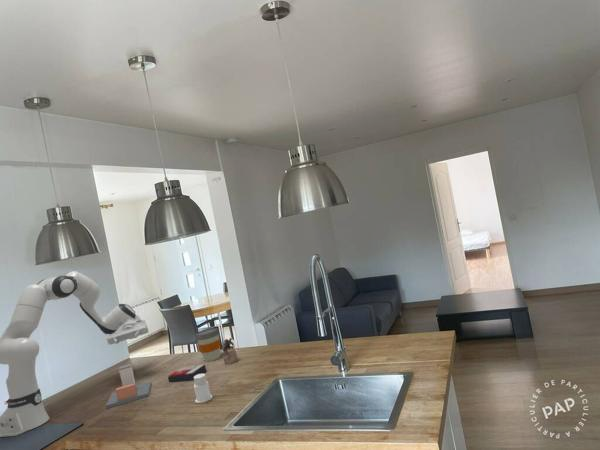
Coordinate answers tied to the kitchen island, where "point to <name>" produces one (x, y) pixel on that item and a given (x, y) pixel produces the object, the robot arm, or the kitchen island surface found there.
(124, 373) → the beige rectangular block
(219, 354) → the reusable coffee cup
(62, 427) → the kitchen island surface
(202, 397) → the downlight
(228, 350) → the figurine
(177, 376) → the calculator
